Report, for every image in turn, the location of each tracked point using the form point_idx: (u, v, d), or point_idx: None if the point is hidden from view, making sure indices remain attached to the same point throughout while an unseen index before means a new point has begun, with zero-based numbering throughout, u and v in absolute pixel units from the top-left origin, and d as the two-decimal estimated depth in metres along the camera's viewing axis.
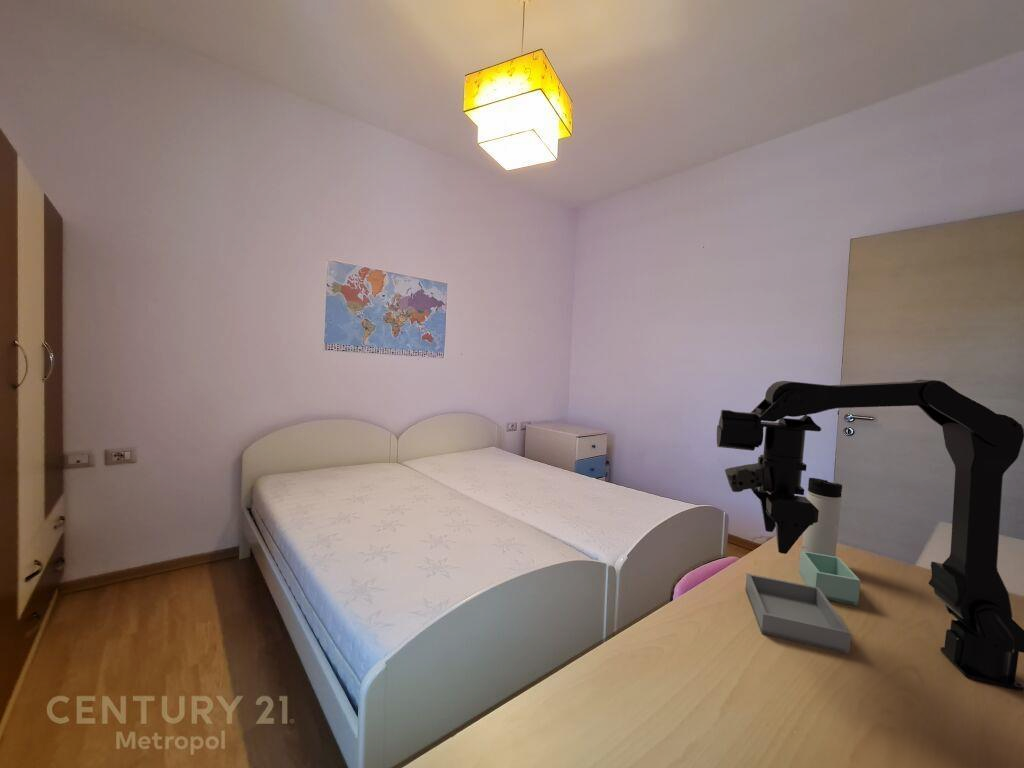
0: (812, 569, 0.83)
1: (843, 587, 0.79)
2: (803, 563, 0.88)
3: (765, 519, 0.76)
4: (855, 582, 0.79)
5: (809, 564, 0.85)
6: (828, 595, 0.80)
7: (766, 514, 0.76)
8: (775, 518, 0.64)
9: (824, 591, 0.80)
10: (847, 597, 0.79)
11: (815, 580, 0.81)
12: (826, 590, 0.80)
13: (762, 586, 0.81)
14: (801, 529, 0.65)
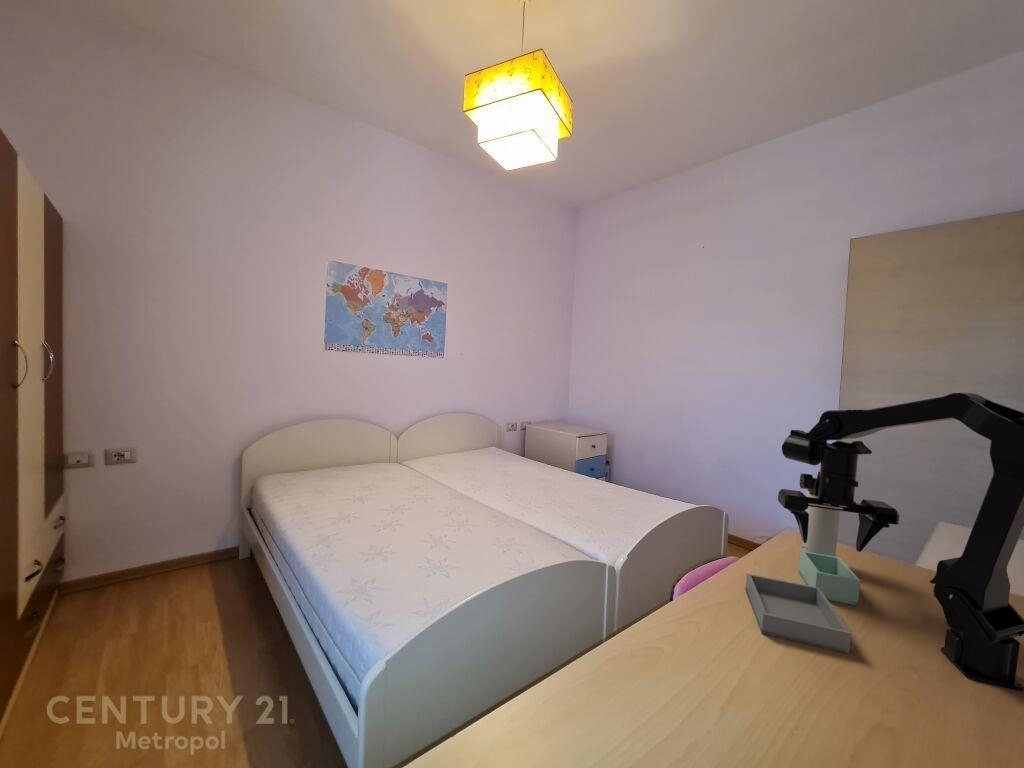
0: (812, 569, 0.83)
1: (843, 587, 0.79)
2: (803, 563, 0.88)
3: (857, 538, 0.83)
4: (855, 582, 0.79)
5: (809, 564, 0.85)
6: (828, 595, 0.80)
7: (858, 534, 0.83)
8: None
9: (824, 591, 0.80)
10: (847, 597, 0.79)
11: (815, 580, 0.81)
12: (826, 590, 0.80)
13: (762, 586, 0.81)
14: None
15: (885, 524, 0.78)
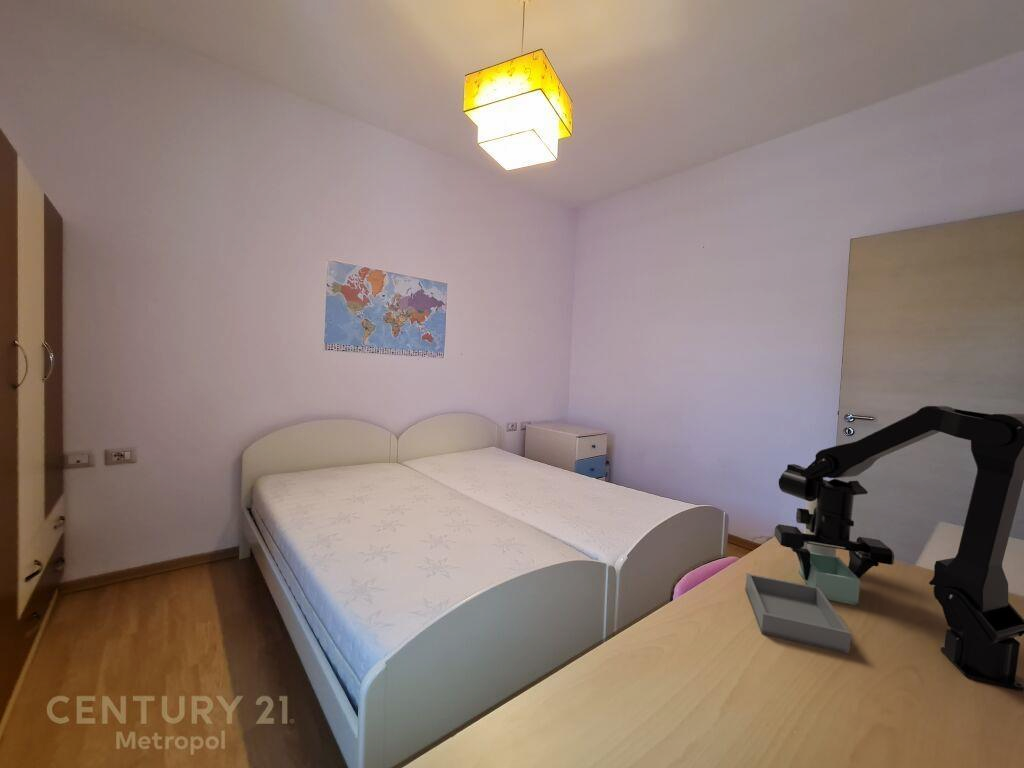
0: (812, 569, 0.83)
1: (843, 587, 0.79)
2: None
3: None
4: (855, 582, 0.79)
5: None
6: (828, 595, 0.80)
7: None
8: None
9: (824, 591, 0.80)
10: (847, 597, 0.79)
11: (815, 580, 0.81)
12: (826, 590, 0.80)
13: (762, 586, 0.81)
14: (801, 558, 0.84)
15: (874, 563, 0.79)
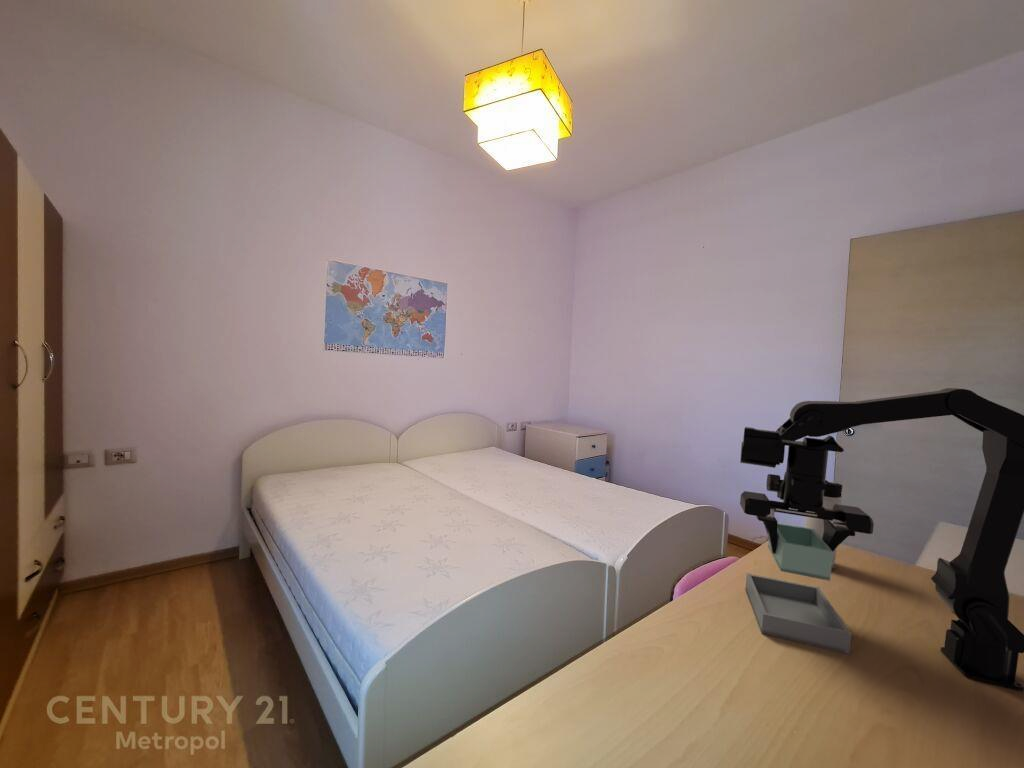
0: (779, 540, 0.72)
1: (813, 559, 0.69)
2: None
3: None
4: (827, 554, 0.68)
5: (777, 535, 0.74)
6: (796, 569, 0.70)
7: None
8: None
9: (792, 564, 0.70)
10: (818, 571, 0.68)
11: (782, 552, 0.70)
12: (794, 563, 0.70)
13: (762, 586, 0.81)
14: None
15: (850, 532, 0.68)
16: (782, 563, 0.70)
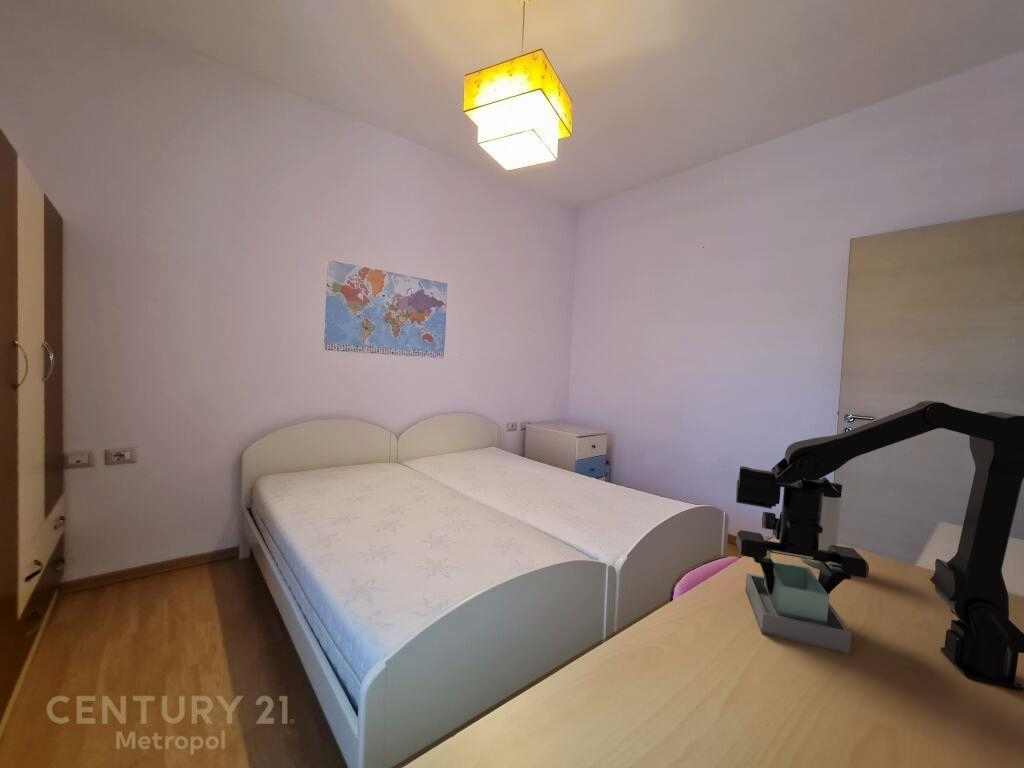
0: (776, 582, 0.72)
1: (810, 603, 0.68)
2: None
3: None
4: (823, 598, 0.68)
5: None
6: (793, 612, 0.69)
7: None
8: None
9: (789, 608, 0.70)
10: (814, 615, 0.68)
11: (778, 595, 0.70)
12: (791, 607, 0.69)
13: (762, 586, 0.81)
14: (763, 569, 0.73)
15: (846, 575, 0.69)
16: (779, 606, 0.70)
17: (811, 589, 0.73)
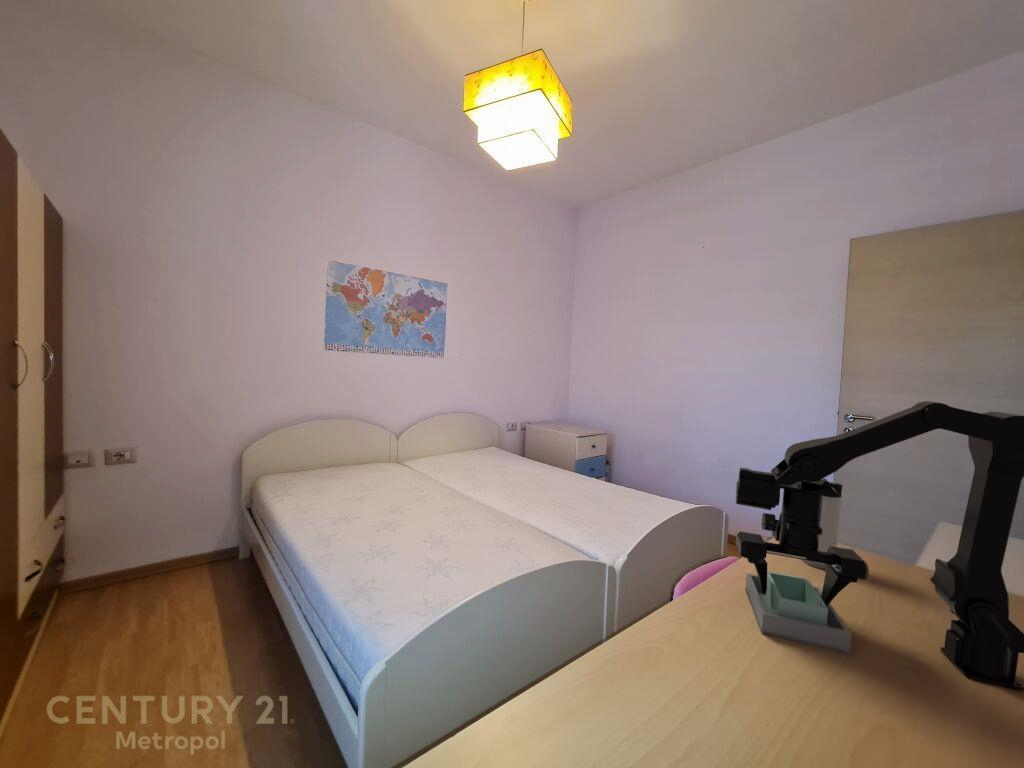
0: (775, 594, 0.72)
1: (809, 616, 0.69)
2: (767, 585, 0.77)
3: (822, 591, 0.73)
4: (822, 610, 0.68)
5: (772, 587, 0.74)
6: None
7: (824, 587, 0.72)
8: None
9: None
10: None
11: (777, 607, 0.70)
12: None
13: None
14: None
15: (853, 578, 0.68)
16: None
17: (810, 600, 0.74)
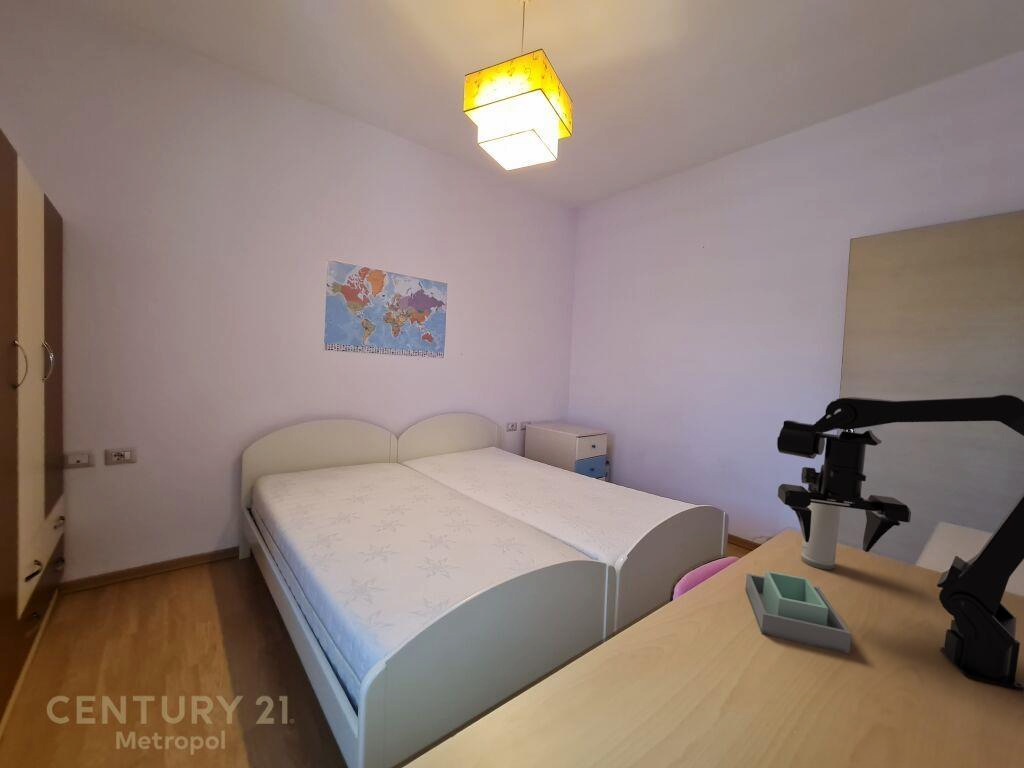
0: (775, 594, 0.72)
1: (809, 616, 0.69)
2: (767, 585, 0.77)
3: (864, 537, 0.76)
4: (822, 610, 0.68)
5: (772, 587, 0.74)
6: None
7: (865, 533, 0.76)
8: None
9: None
10: None
11: (777, 607, 0.70)
12: None
13: (762, 586, 0.81)
14: (801, 517, 0.77)
15: (895, 522, 0.71)
16: None
17: (810, 600, 0.74)
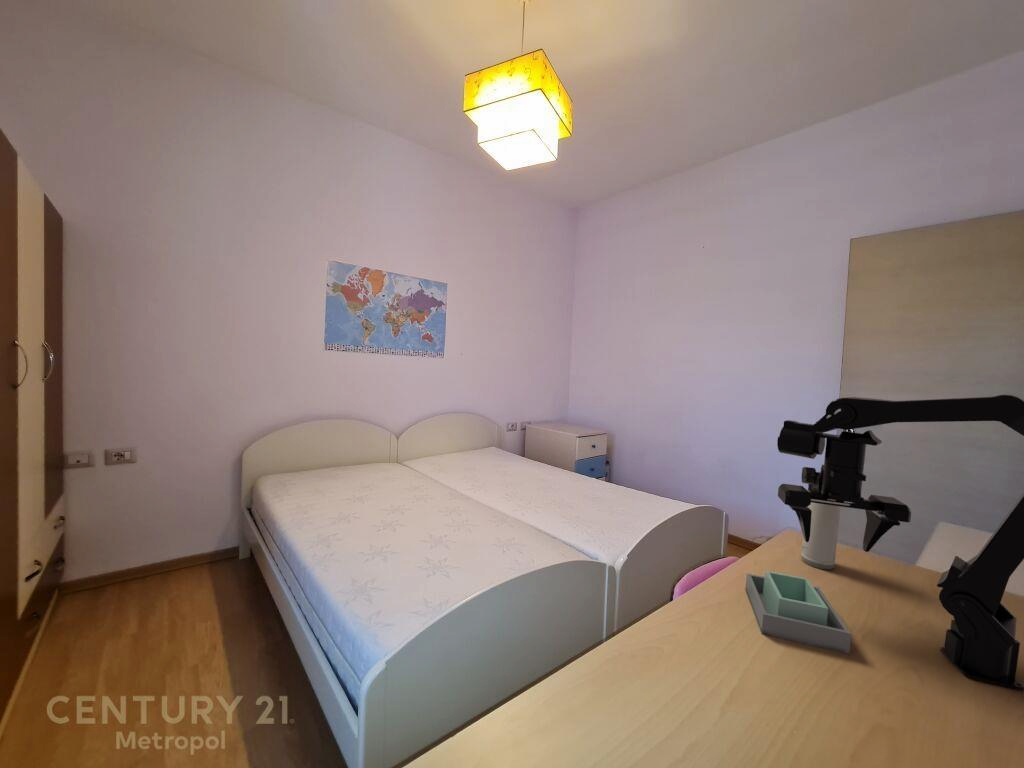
0: (775, 594, 0.72)
1: (809, 616, 0.69)
2: (767, 585, 0.77)
3: (864, 537, 0.76)
4: (822, 610, 0.68)
5: (772, 587, 0.74)
6: None
7: (865, 533, 0.76)
8: None
9: None
10: None
11: (777, 607, 0.70)
12: None
13: (762, 586, 0.81)
14: (801, 517, 0.77)
15: (895, 522, 0.72)
16: None
17: (810, 600, 0.74)
